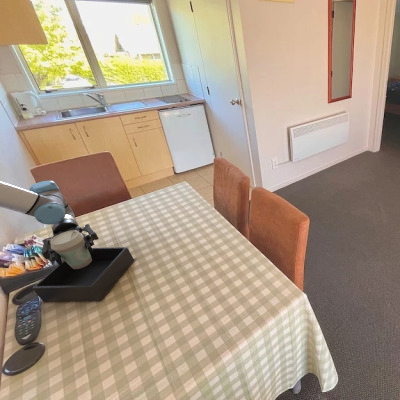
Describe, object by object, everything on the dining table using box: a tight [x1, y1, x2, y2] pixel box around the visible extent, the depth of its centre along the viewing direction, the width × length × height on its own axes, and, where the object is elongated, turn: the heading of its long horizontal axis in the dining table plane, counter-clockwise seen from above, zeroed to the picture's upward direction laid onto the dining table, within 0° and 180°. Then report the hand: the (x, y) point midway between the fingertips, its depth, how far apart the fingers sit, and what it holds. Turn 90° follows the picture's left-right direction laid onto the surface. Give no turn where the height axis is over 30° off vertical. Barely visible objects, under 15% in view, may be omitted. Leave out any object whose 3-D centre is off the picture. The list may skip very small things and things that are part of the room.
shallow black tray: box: [31, 246, 135, 303], centre depth 98 cm, size 20×20×7 cm
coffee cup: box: [50, 230, 92, 269], centre depth 92 cm, size 9×8×12 cm
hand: (75, 256), depth 89 cm, fingers closed on coffee cup, 8 cm apart
